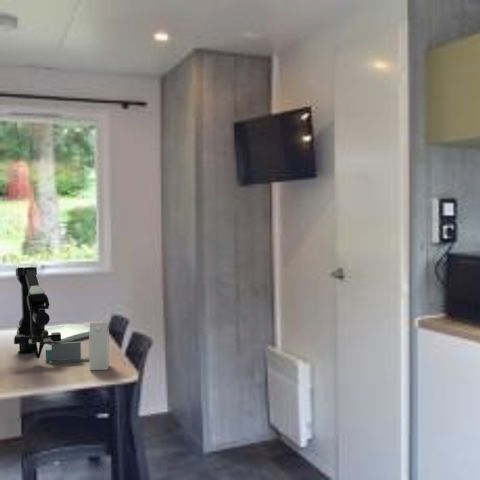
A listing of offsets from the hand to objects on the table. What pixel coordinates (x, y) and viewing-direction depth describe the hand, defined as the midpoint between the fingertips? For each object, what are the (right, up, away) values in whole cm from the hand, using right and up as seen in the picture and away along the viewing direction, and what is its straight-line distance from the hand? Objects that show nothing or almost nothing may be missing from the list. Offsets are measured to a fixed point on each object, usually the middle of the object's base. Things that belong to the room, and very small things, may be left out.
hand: (38, 358), depth 255 cm
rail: (+14, -2, +5) cm, 15 cm away
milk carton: (+27, -3, -6) cm, 28 cm away
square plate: (-5, 0, +51) cm, 51 cm away
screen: (+11, -1, +3) cm, 11 cm away
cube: (+3, -2, +7) cm, 8 cm away
